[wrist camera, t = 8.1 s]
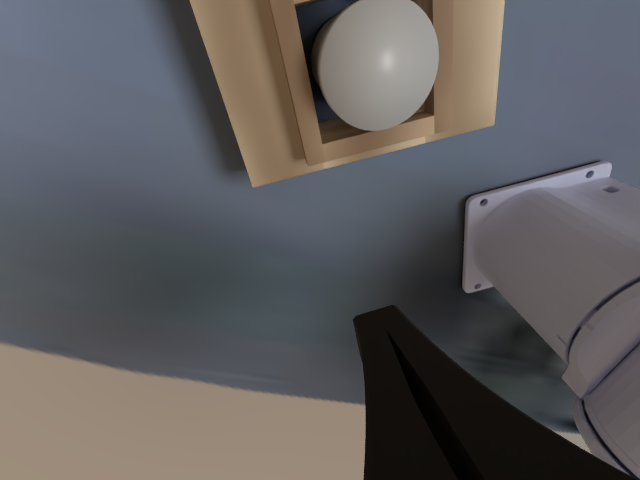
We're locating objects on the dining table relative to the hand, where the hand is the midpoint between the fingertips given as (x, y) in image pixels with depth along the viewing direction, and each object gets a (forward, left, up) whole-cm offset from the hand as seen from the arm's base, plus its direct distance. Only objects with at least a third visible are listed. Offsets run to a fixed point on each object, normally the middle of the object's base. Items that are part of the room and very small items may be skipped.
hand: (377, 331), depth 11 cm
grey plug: (-3, -7, -10) cm, 12 cm away
